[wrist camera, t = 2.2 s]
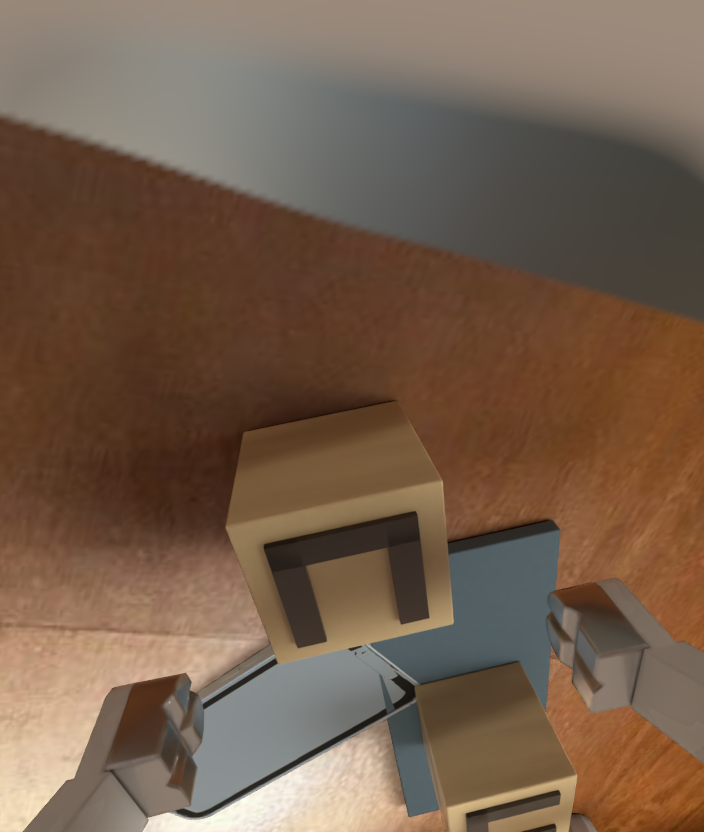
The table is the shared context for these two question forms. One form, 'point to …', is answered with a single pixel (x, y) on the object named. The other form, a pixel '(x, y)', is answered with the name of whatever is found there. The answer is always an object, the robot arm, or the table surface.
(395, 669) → the smartphone
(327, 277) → the table surface
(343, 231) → the table surface
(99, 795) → the robot arm
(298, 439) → the tile
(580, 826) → the cup
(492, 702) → the tile
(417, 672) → the mat
